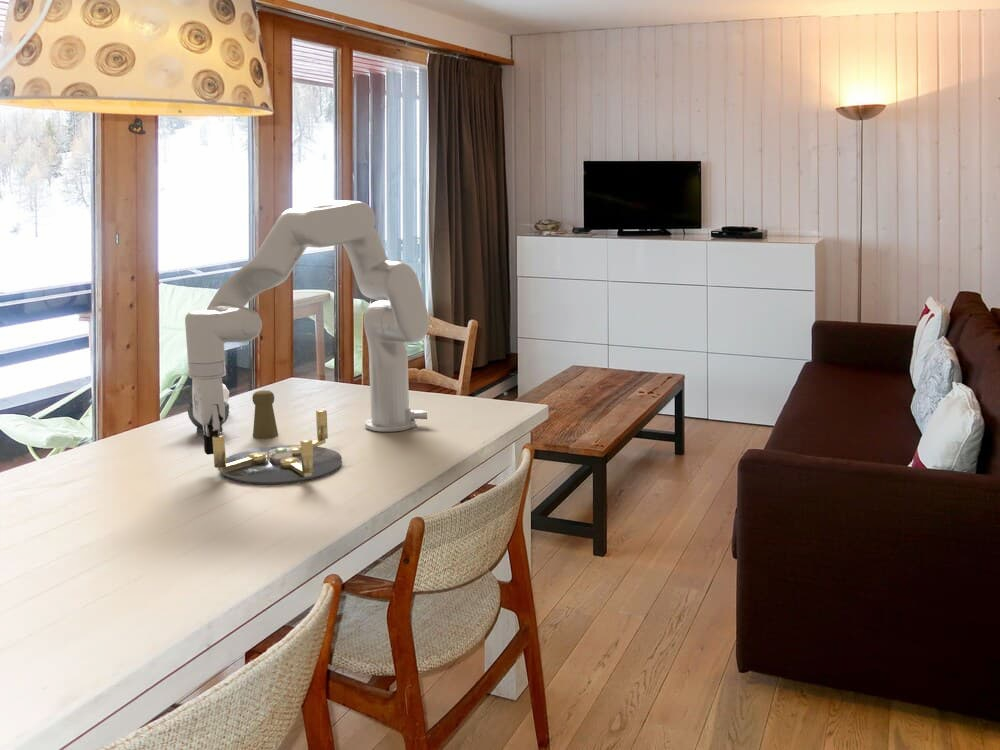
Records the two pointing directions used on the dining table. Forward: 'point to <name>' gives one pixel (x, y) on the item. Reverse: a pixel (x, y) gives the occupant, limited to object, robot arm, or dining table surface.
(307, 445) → the brass crank handle
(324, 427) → the brass bent bar
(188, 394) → the mortar and pestle
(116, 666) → the dining table surface
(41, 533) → the dining table surface
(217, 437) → the gold l-shaped piece
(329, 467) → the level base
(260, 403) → the olive tapered upright piece
